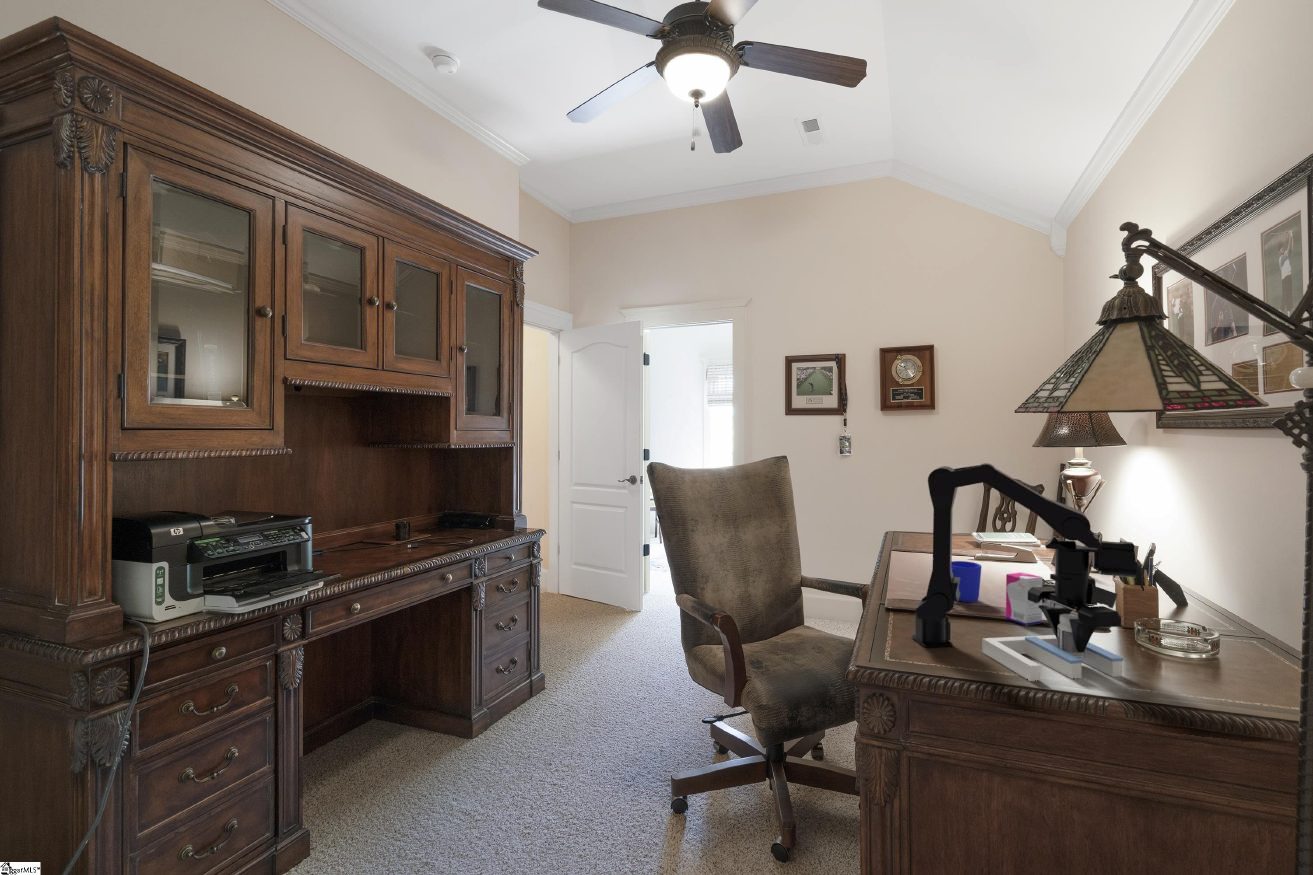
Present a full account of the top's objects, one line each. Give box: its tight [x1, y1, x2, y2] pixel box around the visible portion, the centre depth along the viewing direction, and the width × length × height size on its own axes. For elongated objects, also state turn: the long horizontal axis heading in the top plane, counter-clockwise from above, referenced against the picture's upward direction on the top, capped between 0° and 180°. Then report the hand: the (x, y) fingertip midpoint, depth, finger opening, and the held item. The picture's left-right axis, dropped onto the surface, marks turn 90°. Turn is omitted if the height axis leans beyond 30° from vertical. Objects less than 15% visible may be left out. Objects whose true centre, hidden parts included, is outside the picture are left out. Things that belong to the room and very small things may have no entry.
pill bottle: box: [1057, 613, 1085, 660], centre depth 126 cm, size 5×5×8 cm
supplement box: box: [1005, 572, 1043, 627], centre depth 153 cm, size 6×6×12 cm
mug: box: [952, 560, 982, 603], centre depth 171 cm, size 8×12×10 cm
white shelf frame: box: [981, 634, 1124, 682], centre depth 127 cm, size 19×15×4 cm
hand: (1071, 647), depth 126 cm, fingers closed on pill bottle, 5 cm apart
